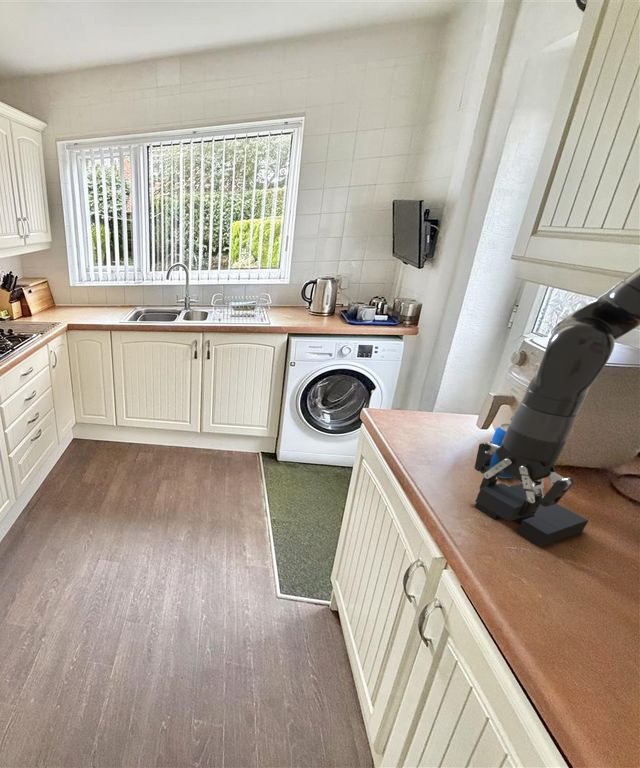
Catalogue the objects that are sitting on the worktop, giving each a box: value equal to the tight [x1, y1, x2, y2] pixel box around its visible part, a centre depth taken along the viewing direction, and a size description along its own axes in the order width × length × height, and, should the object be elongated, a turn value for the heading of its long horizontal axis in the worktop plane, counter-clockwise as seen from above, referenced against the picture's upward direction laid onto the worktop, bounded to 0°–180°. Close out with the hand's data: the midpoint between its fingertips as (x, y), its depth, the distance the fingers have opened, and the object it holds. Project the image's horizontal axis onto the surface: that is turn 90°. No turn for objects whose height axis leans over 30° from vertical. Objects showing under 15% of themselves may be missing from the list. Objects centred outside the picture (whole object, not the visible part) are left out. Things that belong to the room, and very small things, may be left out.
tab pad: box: [475, 482, 527, 522], centre depth 78 cm, size 9×6×3 cm, turn 107°
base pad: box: [474, 483, 589, 548], centre depth 83 cm, size 12×12×3 cm
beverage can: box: [490, 423, 515, 479], centre depth 95 cm, size 6×6×12 cm
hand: (503, 504), depth 78 cm, fingers closed on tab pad, 6 cm apart
